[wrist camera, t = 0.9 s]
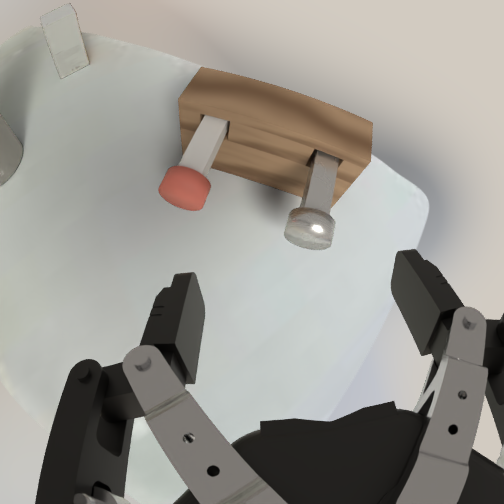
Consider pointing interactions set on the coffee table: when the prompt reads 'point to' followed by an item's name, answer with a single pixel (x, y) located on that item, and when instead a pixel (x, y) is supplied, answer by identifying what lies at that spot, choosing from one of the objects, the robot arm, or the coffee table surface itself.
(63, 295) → the coffee table surface
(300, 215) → the grey plunger
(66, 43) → the small box
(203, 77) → the walnut housing
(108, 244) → the coffee table surface
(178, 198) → the red plunger
